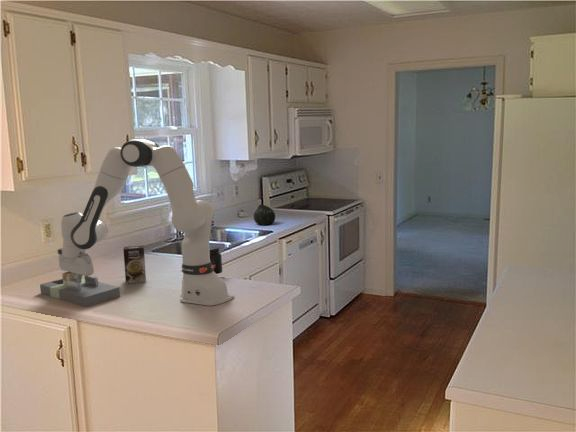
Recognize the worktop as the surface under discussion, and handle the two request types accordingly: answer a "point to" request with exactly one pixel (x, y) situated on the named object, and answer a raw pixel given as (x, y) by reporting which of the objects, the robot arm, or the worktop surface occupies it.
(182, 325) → the worktop surface
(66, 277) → the maple block
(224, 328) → the worktop surface
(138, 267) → the coffee box
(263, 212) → the squash
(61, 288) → the tunnel deck
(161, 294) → the worktop surface
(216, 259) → the supplement bottle
